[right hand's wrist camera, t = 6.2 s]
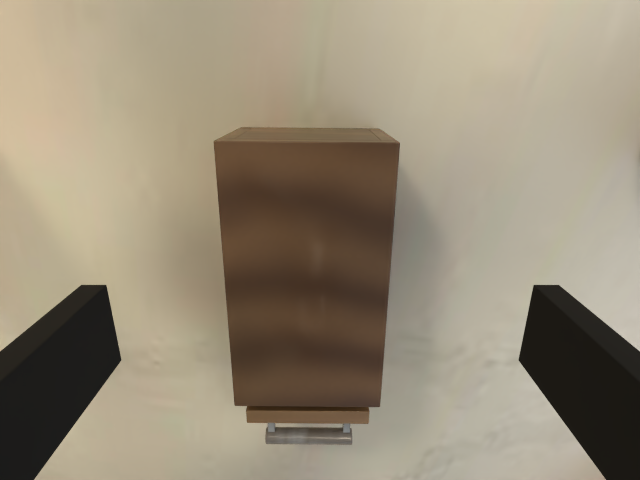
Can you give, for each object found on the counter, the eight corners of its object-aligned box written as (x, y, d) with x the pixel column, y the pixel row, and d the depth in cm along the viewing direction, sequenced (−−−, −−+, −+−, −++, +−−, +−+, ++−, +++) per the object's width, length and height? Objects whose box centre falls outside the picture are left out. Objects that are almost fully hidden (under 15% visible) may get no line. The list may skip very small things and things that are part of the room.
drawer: (358, 417, 39) (365, 477, 33) (261, 416, 39) (250, 476, 33) (371, 179, 31) (383, 201, 25) (248, 178, 31) (231, 200, 25)
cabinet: (367, 340, 38) (380, 407, 30) (252, 339, 38) (234, 406, 30) (380, 128, 31) (400, 142, 23) (240, 127, 31) (213, 140, 23)
